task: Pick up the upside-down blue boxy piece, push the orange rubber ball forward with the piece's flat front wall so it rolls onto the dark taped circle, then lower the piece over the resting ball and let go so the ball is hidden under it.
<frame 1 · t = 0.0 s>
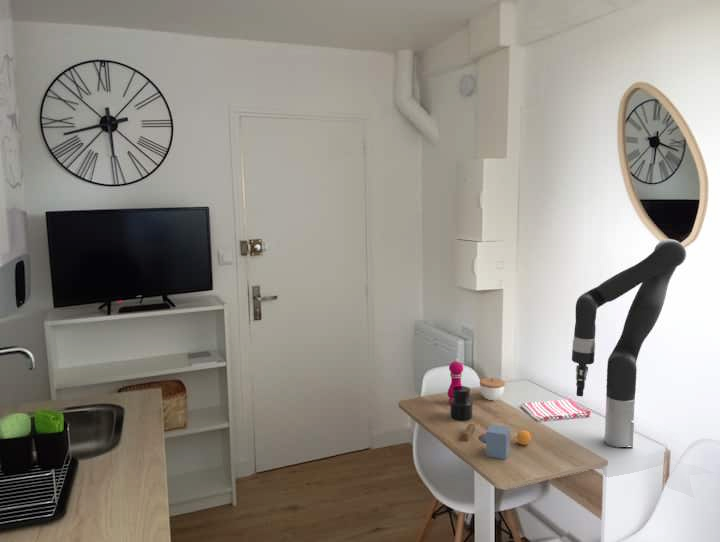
hand: (580, 392, 205), 17 cm above the table, tool pointing down, fingers open, 8 cm apart
ink bottle: (461, 417, 228), on the table
dish towel: (554, 413, 232), on the table
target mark: (490, 438, 207), on the table
ball: (523, 437, 202), on the table
pepper mill: (456, 404, 243), on the table
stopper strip: (468, 435, 210), on the table
lidded jar: (491, 398, 248), on the table
blue boxy piece: (497, 453, 195), on the table
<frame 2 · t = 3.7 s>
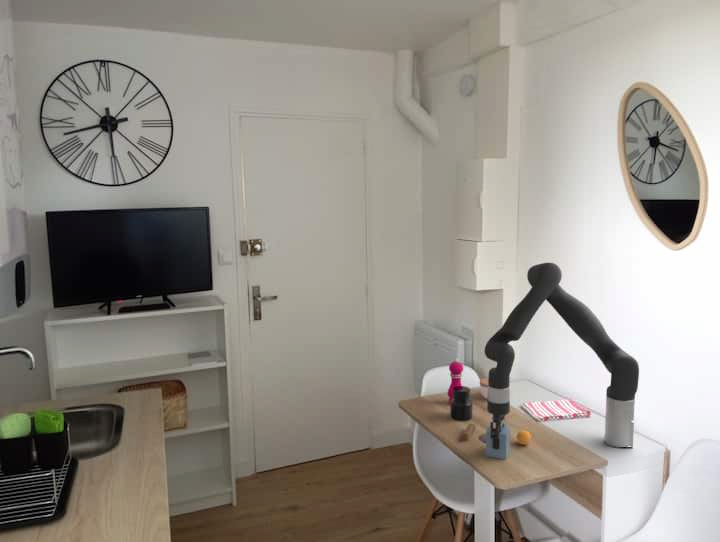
hand: (497, 444, 195), 3 cm above the table, tool pointing down, fingers closed on blue boxy piece, 7 cm apart
blue boxy piece: (497, 453, 195), on the table, touching gripper
everything else where it was.
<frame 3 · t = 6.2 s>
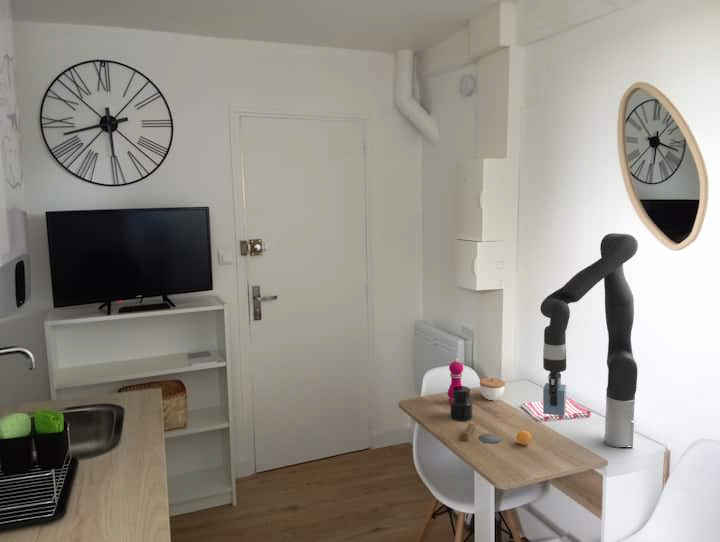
hand: (554, 402, 195), 17 cm above the table, tool pointing down, fingers closed on blue boxy piece, 7 cm apart
blue boxy piece: (554, 411, 196), point 14 cm above the table, touching gripper
everything else where it was.
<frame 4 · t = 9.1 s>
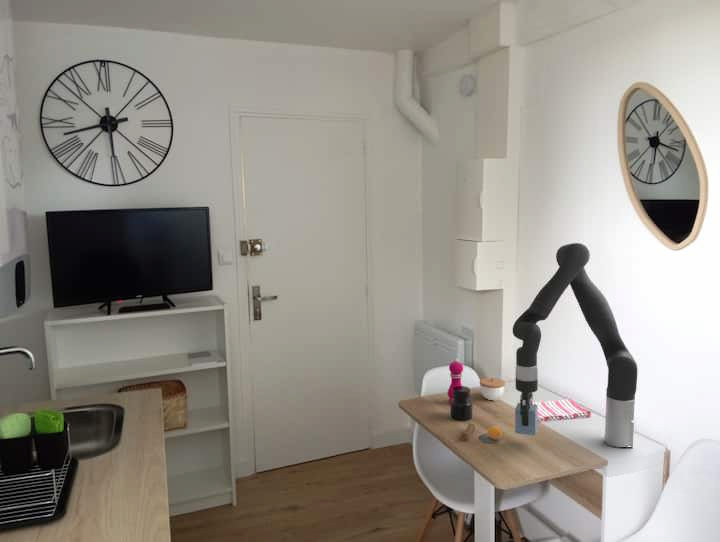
hand: (526, 421, 200), 9 cm above the table, tool pointing down, fingers closed on blue boxy piece, 7 cm apart
ball: (495, 432, 206), on the table
blue boxy piece: (526, 430, 200), point 5 cm above the table, touching gripper
everything else where it was.
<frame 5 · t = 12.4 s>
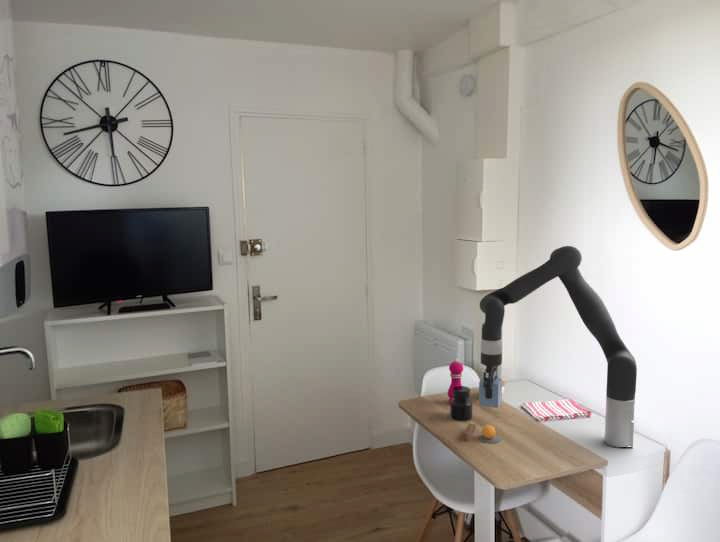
hand: (490, 395, 205), 17 cm above the table, tool pointing down, fingers closed on blue boxy piece, 7 cm apart
ball: (488, 431, 207), on the table
blue boxy piece: (490, 403, 205), point 13 cm above the table, touching gripper
everything else where it was.
when the fingers open (4 cm above the table, at t = 15.2 s): blue boxy piece stays where it is, on the table.
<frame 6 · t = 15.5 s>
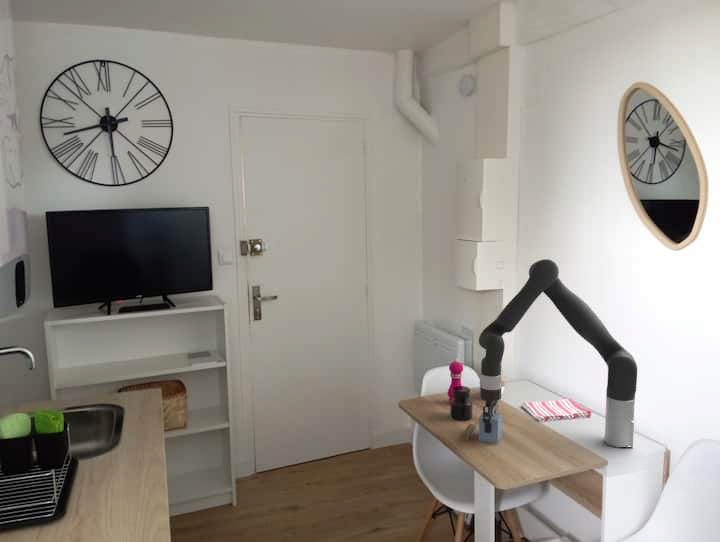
hand: (490, 428, 206), 4 cm above the table, tool pointing down, fingers open, 8 cm apart
blue boxy piece: (490, 438, 207), on the table
everything else where it was.
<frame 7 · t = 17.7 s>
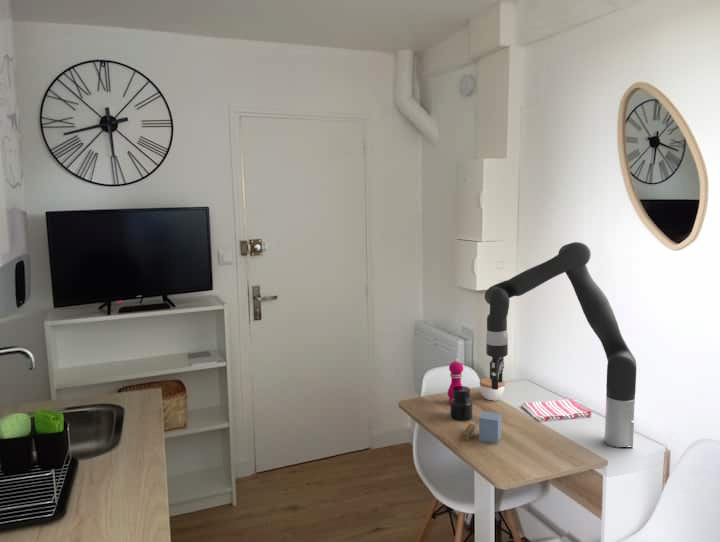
hand: (497, 385, 204), 20 cm above the table, tool pointing down, fingers open, 8 cm apart
nothing on the table moved.
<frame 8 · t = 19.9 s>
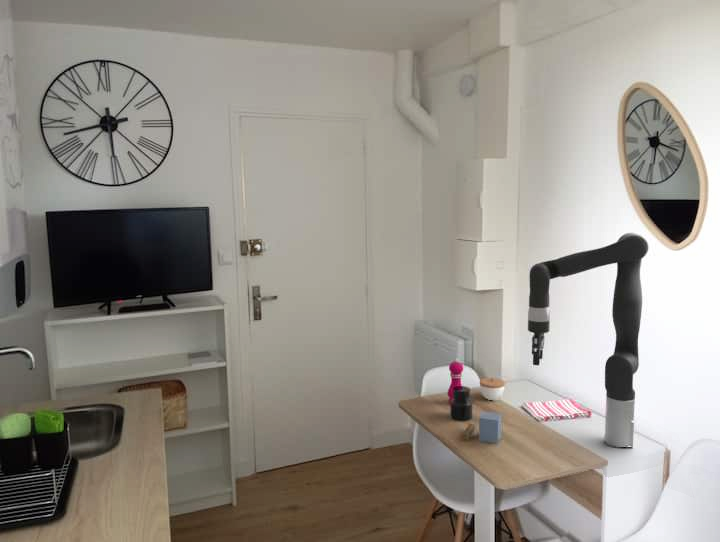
hand: (537, 361, 206), 28 cm above the table, tool pointing down, fingers open, 8 cm apart
nothing on the table moved.
at the end: ball 0.5 cm from the blue boxy piece (horizontally); blue boxy piece on the table; ball moved 12.5 cm from its start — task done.
